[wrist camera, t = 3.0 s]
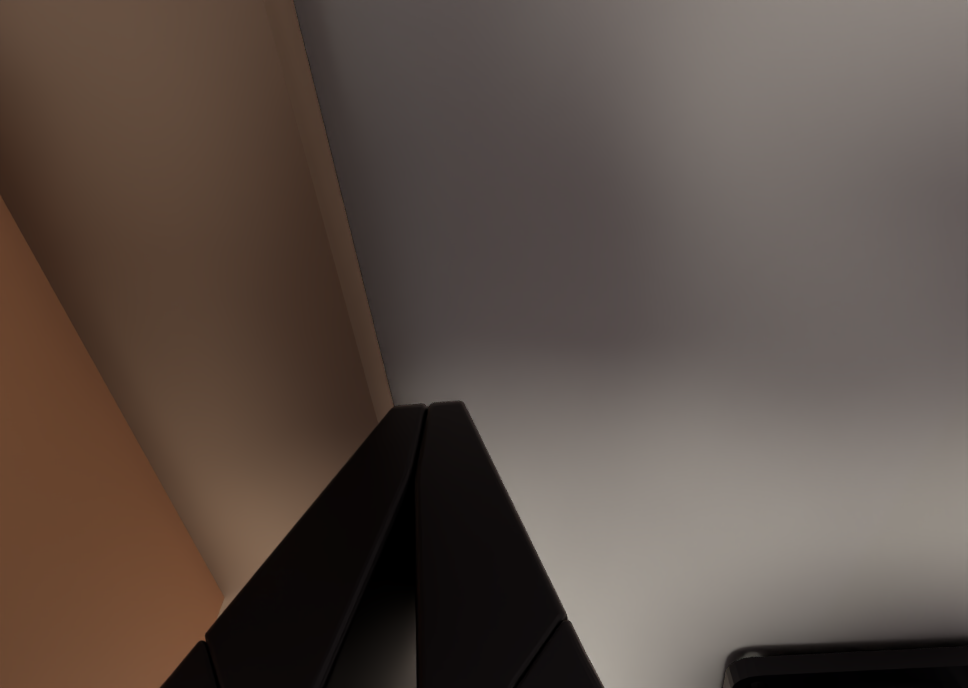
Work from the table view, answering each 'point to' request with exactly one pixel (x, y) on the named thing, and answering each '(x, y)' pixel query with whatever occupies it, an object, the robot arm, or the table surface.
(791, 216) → the table surface
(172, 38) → the board
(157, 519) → the tee block
